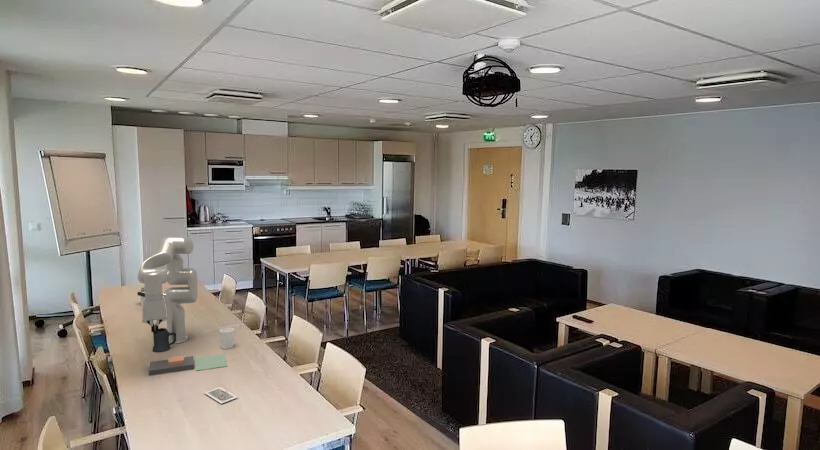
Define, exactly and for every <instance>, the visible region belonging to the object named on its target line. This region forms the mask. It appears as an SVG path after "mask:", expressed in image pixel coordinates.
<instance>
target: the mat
mask: <svg viewBox="0 0 820 450" xmlns="http://www.w3.org/2000/svg"><path fill="white" fill-rule="evenodd" d="M193 358H194V370H195V372H199V371H206V370H212V369H213V370H214V369H221V368H227V367H228V363H227V362H228V361H227V358H226V354H225V353H219V354H212V355H204V356H198V357H197V356H196V357H193Z"/></svg>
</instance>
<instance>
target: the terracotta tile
mask: <svg viewBox="0 0 820 450" xmlns="http://www.w3.org/2000/svg"><path fill="white" fill-rule="evenodd" d="M184 357H185V355H175V356H168V358H167V359H168V366H173V365H180V364H184Z"/></svg>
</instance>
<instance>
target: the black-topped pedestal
mask: <svg viewBox="0 0 820 450" xmlns="http://www.w3.org/2000/svg"><path fill="white" fill-rule="evenodd" d="M139 290H140V291H137V296H139V297H140V306H141V307H143V301H144V299H145V286H144V287H140V289H139Z"/></svg>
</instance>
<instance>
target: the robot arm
mask: <svg viewBox="0 0 820 450" xmlns="http://www.w3.org/2000/svg"><path fill="white" fill-rule="evenodd" d="M194 248H195V247H194V242H193V240H192V239H190V238H188V237H185V236H165V237H163V238H161V239H160V240H159V243H158V245H157V248H156V252H155V254H153V255H151V256H150V257H148V258H147V259H145V260H143V262H142V263H141V265H140V268H139V269H138V273H137V280H138V282H139V283H141V284H142V285H143V284H144V287H145V288H144V289H145V299H144V301H143V306H142V314H141V315H142V320H141V323H143V324H148V325H149V326H150V328H151V329H150V330H151V333H152V334H157V331H158V329H159V325H160V324H161V323H162V322H165V321H166V329H167V331H168V332H169V333H172V332H176V342H175V343H174V344H173V345H175V344H176V345H177V344H181V343H185V342H187V341H189V336H188V335H186V314H185V312H186V311H185V308H184V307H183V306H182V304H183V305H184V304H194V303H196V302H197V300H198V273H197V270H196V269H195V268H191V267H190V268H189V267H187V268H184V258H183V257H182V256H181V255H188V254H189V255H190V254H192V253H193V251H194ZM163 266H166V268H160V267H163ZM166 283H168V285H170V286H173V287H169V288H166V289H165V291H164V293H163V285H164V284H166ZM176 285H177V286H176ZM181 285H182V286H181ZM183 285H184V286H183ZM185 285H186V286H185ZM154 321H156V323H154ZM173 341H174V335H169V344H170V343H171V342H173Z"/></svg>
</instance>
